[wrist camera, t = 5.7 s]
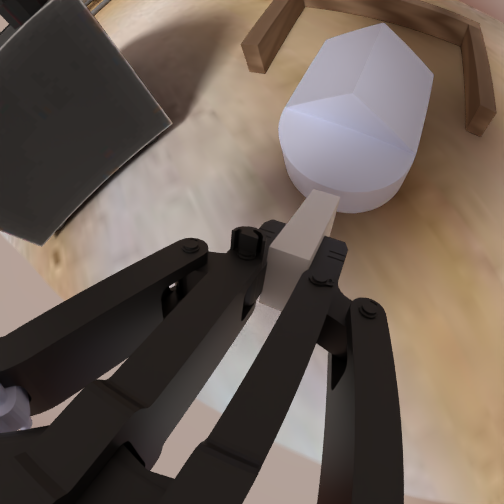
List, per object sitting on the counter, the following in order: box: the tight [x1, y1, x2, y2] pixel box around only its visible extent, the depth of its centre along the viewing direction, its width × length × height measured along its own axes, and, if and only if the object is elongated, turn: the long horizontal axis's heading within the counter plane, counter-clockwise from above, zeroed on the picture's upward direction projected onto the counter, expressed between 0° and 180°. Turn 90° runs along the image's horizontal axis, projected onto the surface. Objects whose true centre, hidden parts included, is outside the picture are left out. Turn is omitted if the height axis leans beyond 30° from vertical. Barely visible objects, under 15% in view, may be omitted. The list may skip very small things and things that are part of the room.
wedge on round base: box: [278, 22, 434, 213], centre depth 18 cm, size 9×7×13 cm
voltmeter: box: [0, 0, 173, 247], centre depth 17 cm, size 16×16×20 cm
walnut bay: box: [241, 0, 496, 137], centre depth 21 cm, size 21×14×4 cm
